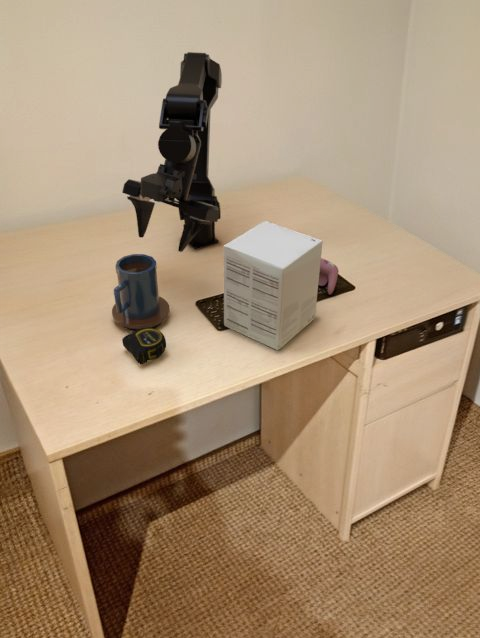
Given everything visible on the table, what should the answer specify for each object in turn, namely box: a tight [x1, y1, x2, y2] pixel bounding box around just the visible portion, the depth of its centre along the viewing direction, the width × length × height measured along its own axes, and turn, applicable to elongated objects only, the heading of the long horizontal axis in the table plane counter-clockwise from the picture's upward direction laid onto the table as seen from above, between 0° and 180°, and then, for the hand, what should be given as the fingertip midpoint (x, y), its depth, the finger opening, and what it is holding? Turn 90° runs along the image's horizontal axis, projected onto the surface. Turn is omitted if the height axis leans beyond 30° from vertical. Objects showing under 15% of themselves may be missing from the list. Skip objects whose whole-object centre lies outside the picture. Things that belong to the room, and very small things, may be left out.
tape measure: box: [121, 328, 167, 366], centre depth 109 cm, size 7×7×4 cm
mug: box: [111, 253, 171, 329], centre depth 115 cm, size 12×11×11 cm
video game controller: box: [318, 257, 339, 295], centre depth 129 cm, size 10×5×7 cm, turn 71°
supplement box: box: [223, 220, 324, 351], centre depth 114 cm, size 13×13×18 cm
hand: (160, 244), depth 119 cm, fingers open, 9 cm apart
